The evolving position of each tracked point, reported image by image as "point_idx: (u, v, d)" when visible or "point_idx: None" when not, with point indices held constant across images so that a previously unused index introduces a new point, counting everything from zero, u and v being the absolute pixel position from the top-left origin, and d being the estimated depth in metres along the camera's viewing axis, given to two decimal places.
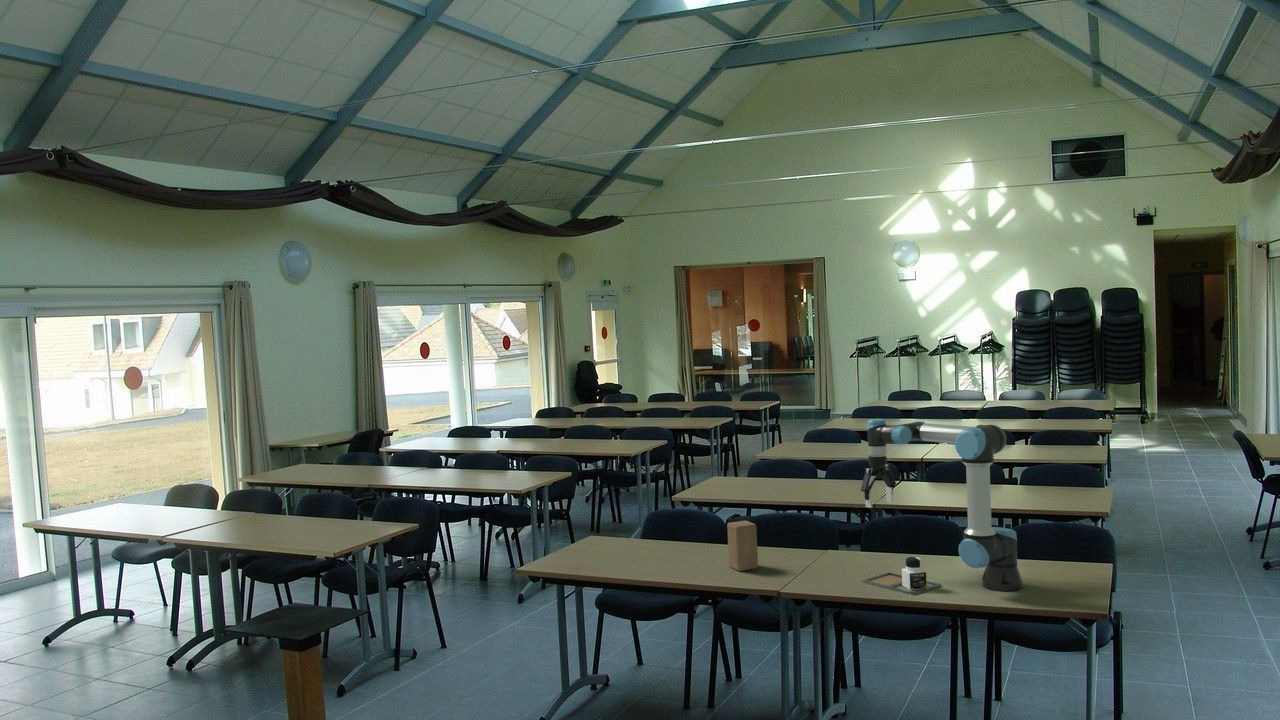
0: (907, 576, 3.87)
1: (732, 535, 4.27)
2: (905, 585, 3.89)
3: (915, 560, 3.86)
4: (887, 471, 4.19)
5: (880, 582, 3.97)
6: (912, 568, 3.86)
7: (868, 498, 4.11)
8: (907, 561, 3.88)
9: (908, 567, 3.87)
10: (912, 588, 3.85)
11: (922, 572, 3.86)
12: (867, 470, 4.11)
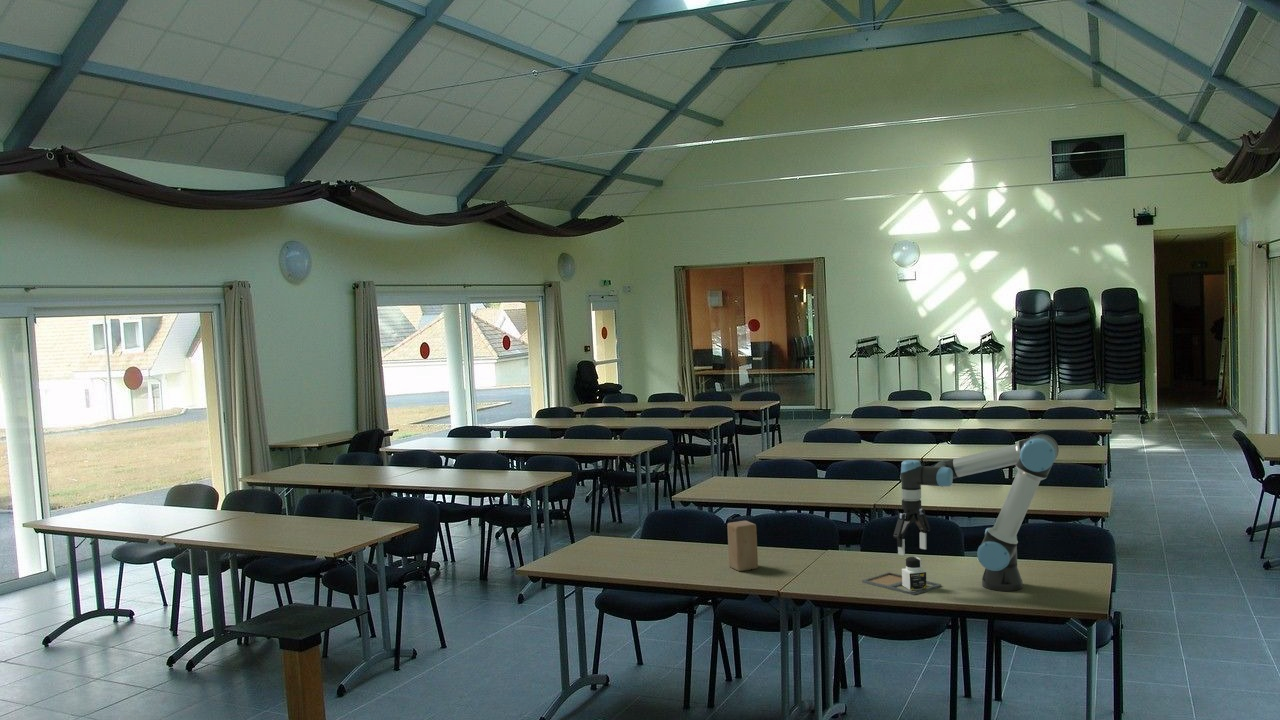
0: (907, 576, 3.87)
1: (732, 535, 4.27)
2: (905, 585, 3.89)
3: (915, 560, 3.86)
4: (921, 515, 3.91)
5: (880, 582, 3.97)
6: (912, 568, 3.86)
7: (901, 545, 3.83)
8: (907, 561, 3.88)
9: (908, 567, 3.87)
10: (912, 588, 3.85)
11: (922, 572, 3.86)
12: (900, 515, 3.84)
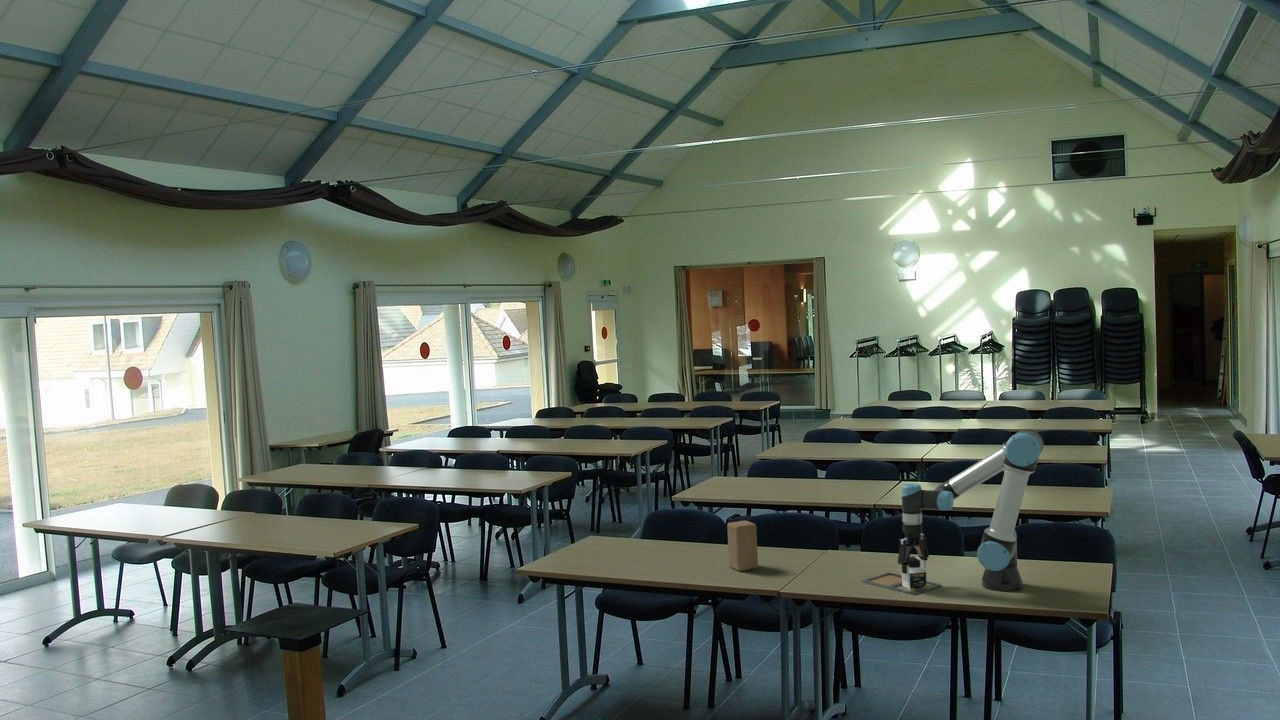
0: None
1: (732, 535, 4.27)
2: (905, 585, 3.89)
3: (915, 560, 3.86)
4: (921, 540, 3.92)
5: (880, 582, 3.97)
6: (912, 568, 3.86)
7: (906, 572, 3.85)
8: None
9: None
10: (912, 588, 3.85)
11: (922, 572, 3.86)
12: (902, 541, 3.84)
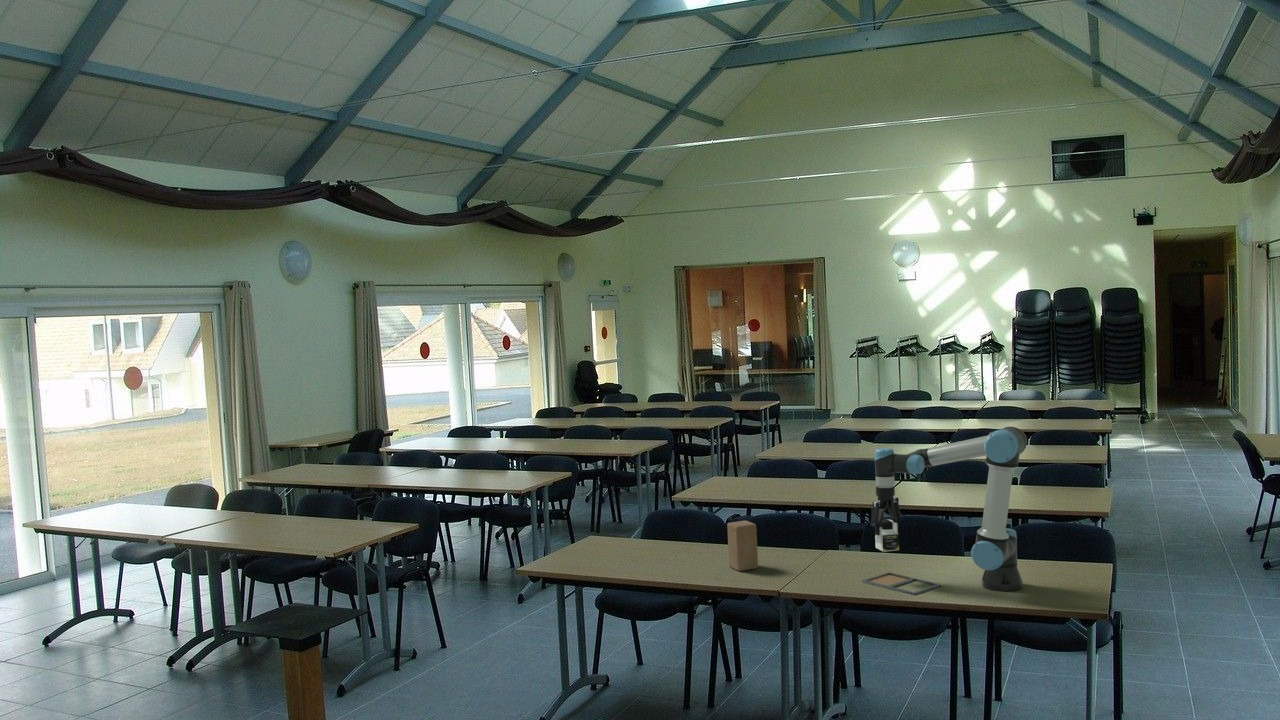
0: None
1: (732, 535, 4.27)
2: (878, 547, 3.99)
3: (888, 522, 3.96)
4: (894, 504, 4.01)
5: (880, 582, 3.97)
6: (885, 530, 3.96)
7: (878, 533, 3.95)
8: None
9: None
10: (885, 549, 3.95)
11: (894, 534, 3.96)
12: (874, 504, 3.94)
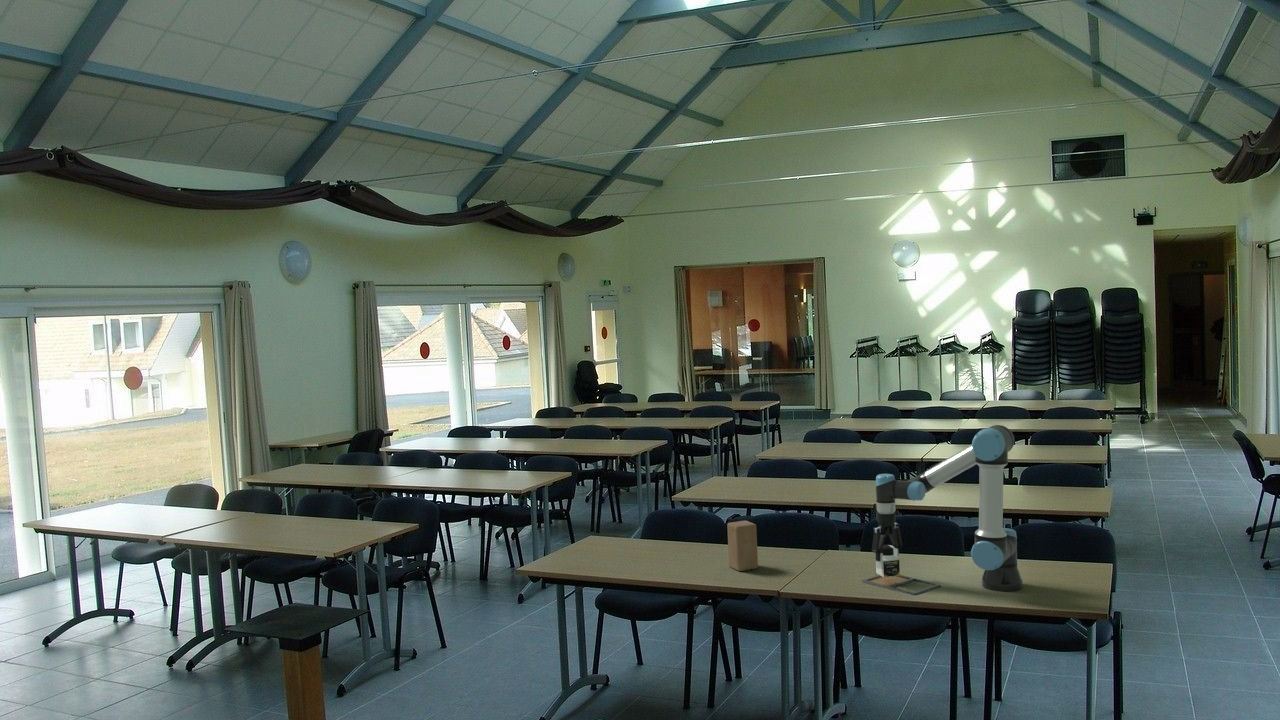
0: None
1: (732, 535, 4.27)
2: (879, 572, 3.99)
3: (889, 548, 3.96)
4: (895, 529, 4.02)
5: (880, 582, 3.97)
6: (886, 556, 3.96)
7: (879, 559, 3.95)
8: None
9: None
10: (885, 575, 3.96)
11: (895, 560, 3.96)
12: (875, 530, 3.95)
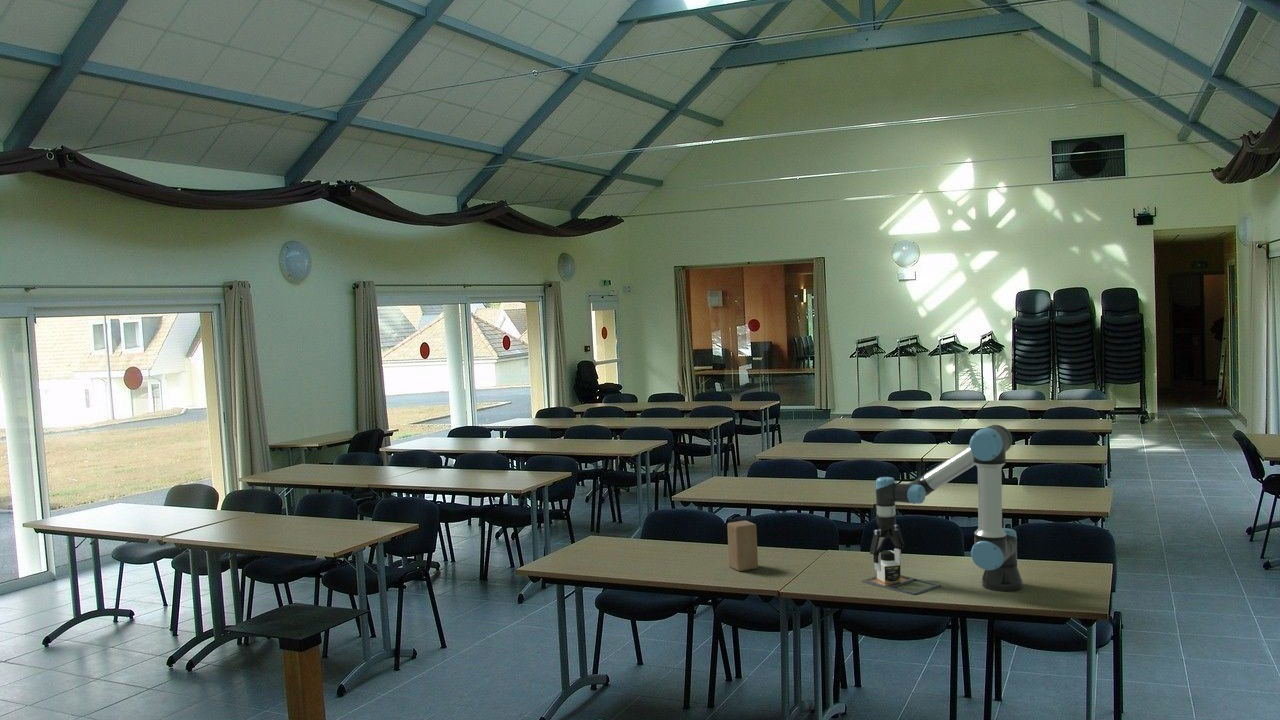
0: (882, 569, 3.97)
1: (732, 535, 4.27)
2: (880, 578, 3.99)
3: (890, 553, 3.97)
4: (896, 531, 4.02)
5: (880, 582, 3.97)
6: (887, 561, 3.97)
7: (877, 561, 3.94)
8: (882, 554, 3.98)
9: (883, 560, 3.98)
10: (887, 580, 3.96)
11: (896, 565, 3.96)
12: (875, 532, 3.95)
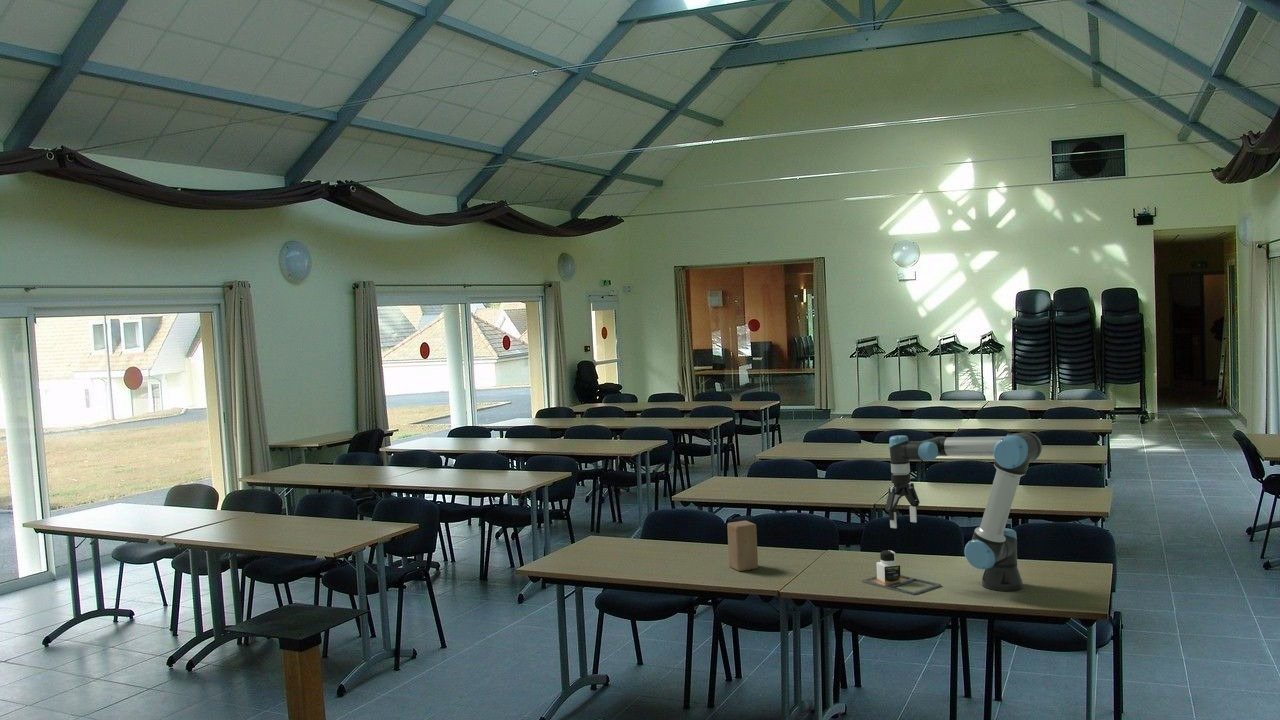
0: (882, 569, 3.97)
1: (732, 535, 4.27)
2: (880, 578, 3.99)
3: (889, 554, 3.97)
4: (910, 489, 4.03)
5: (880, 582, 3.97)
6: (887, 561, 3.97)
7: (893, 518, 3.95)
8: (882, 555, 3.98)
9: (883, 560, 3.98)
10: (887, 580, 3.96)
11: (896, 565, 3.96)
12: (891, 489, 3.95)
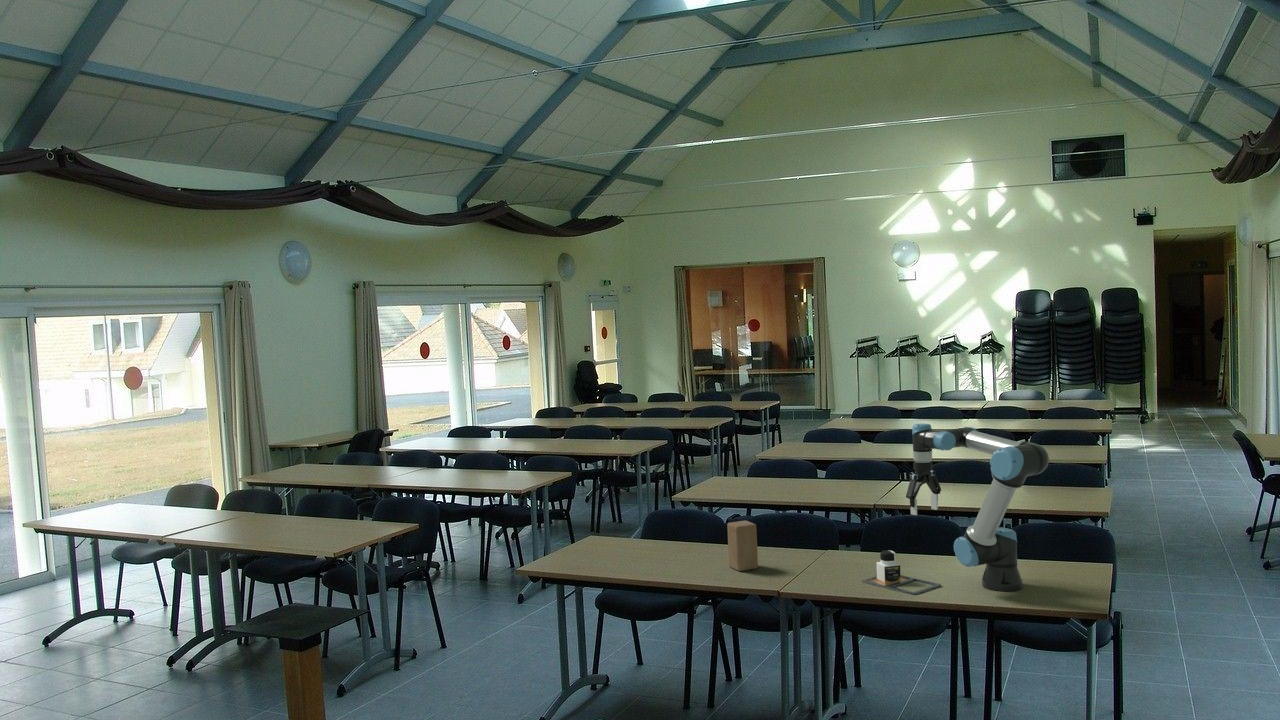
0: (882, 569, 3.97)
1: (732, 535, 4.27)
2: (880, 578, 3.99)
3: (889, 554, 3.97)
4: (932, 477, 4.06)
5: (880, 582, 3.97)
6: (887, 561, 3.97)
7: (914, 505, 3.98)
8: (882, 555, 3.98)
9: (883, 560, 3.98)
10: (887, 581, 3.96)
11: (896, 565, 3.96)
12: (912, 476, 3.99)
